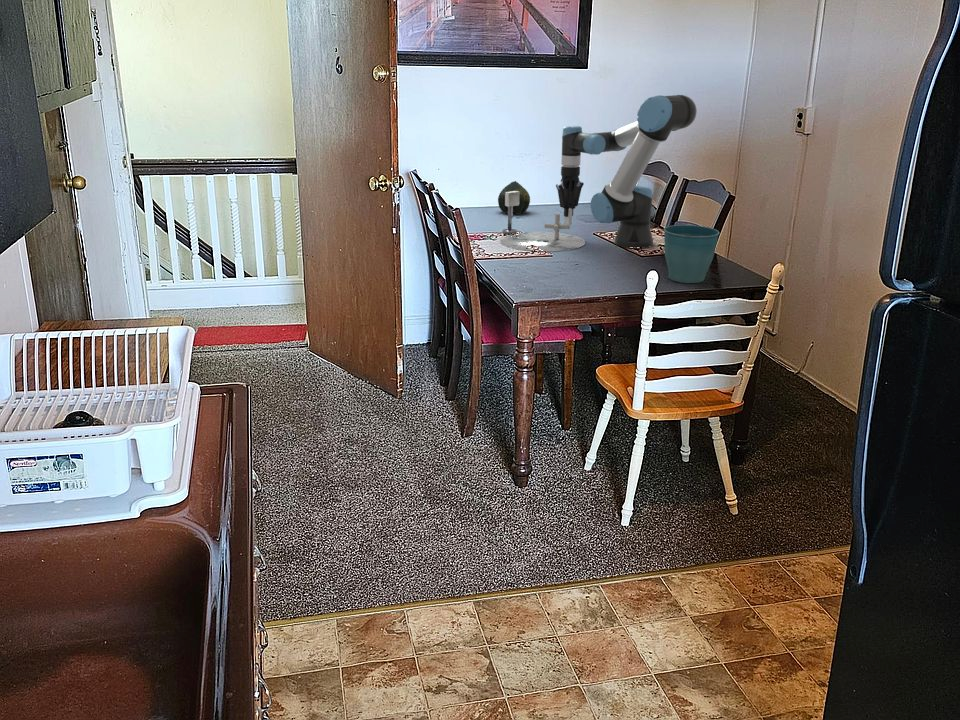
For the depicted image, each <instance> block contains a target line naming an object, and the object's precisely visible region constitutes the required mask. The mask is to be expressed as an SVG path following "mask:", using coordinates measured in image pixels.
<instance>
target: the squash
mask: <svg viewBox="0 0 960 720" xmlns="http://www.w3.org/2000/svg"><path fill="white" fill-rule="evenodd" d="M511 191H519V192H520V195H519V205H517V206H513V214H515V213H516V215H519V214H522V213H526V211H527V210H528V208H529V207H530V204H531V197H530V194H529V192H528V191H527V189H526V188H525V187H523V185H522V184H520V183H519V182H518V181H516V180H515V181H511V182H510V183H508V184H507V185H506V186H504V187H503V188H502V190H501V191H500V192H499V195H498V198H497V202H498V207H499V209H500V211H501V212H503V213H505V212H508V206H505V192H511Z"/></svg>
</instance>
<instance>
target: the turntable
mask: <svg viewBox="0 0 960 720" xmlns="http://www.w3.org/2000/svg"><path fill="white" fill-rule="evenodd" d="M516 234H517V233H516ZM516 234H514V235H516ZM514 235H512V234H507V235H506V236H502V238H500V243H501V244H502V245H503V246H505V245H506V246H505V247H507V246H508V247H507V248H510V247H512V248H511V249H514V248H517V249H516V250H519V249H523V250H522V251H526V250H528V249H529V248H528V247H526V246H530V245H535V246H537V247H539V248H540V249H541V250H543V251H549V253H551V252H564V251H565V252H567V251H572V250H576V249H580V248H582V247H583V246H585V244H586V240H584V238H582V237H580V236H577V235H573V234H568V233H562V232H559V239H554V235H555V231H552V232H551V231H527V232H519V236H518V235H516V236H518V237H519V238H516V236H514ZM511 236H512V237H511ZM518 240H519V241H518ZM517 242H518V243H517ZM526 248H528V249H526Z"/></svg>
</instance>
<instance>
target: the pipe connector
mask: <svg viewBox="0 0 960 720" xmlns="http://www.w3.org/2000/svg"><path fill="white" fill-rule="evenodd" d="M554 216H555V217H554V223H544V229H552V230H554V233H555V235H554V239H559V233H560V230H570V229H571V227H570V226H571V225H566V224H565V223H564V224H561V222H560V219H561V217H560V216H561V215H560V213H555V214H554Z"/></svg>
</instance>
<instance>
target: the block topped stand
mask: <svg viewBox="0 0 960 720" xmlns="http://www.w3.org/2000/svg"><path fill="white" fill-rule="evenodd" d="M519 195H520V192H519V191H511V192H505V206H508V213H507V228H504V229H502V231H501V232H503V233H502V234H504V233H507V234H506V235H511V234H510V233H516V232H517V229H515V228H512V226H513V222H512V219H513V218H514V217H513V216H514V215H513V214H514V211H513V206H517V205H519ZM516 234H517V233H516Z"/></svg>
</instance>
